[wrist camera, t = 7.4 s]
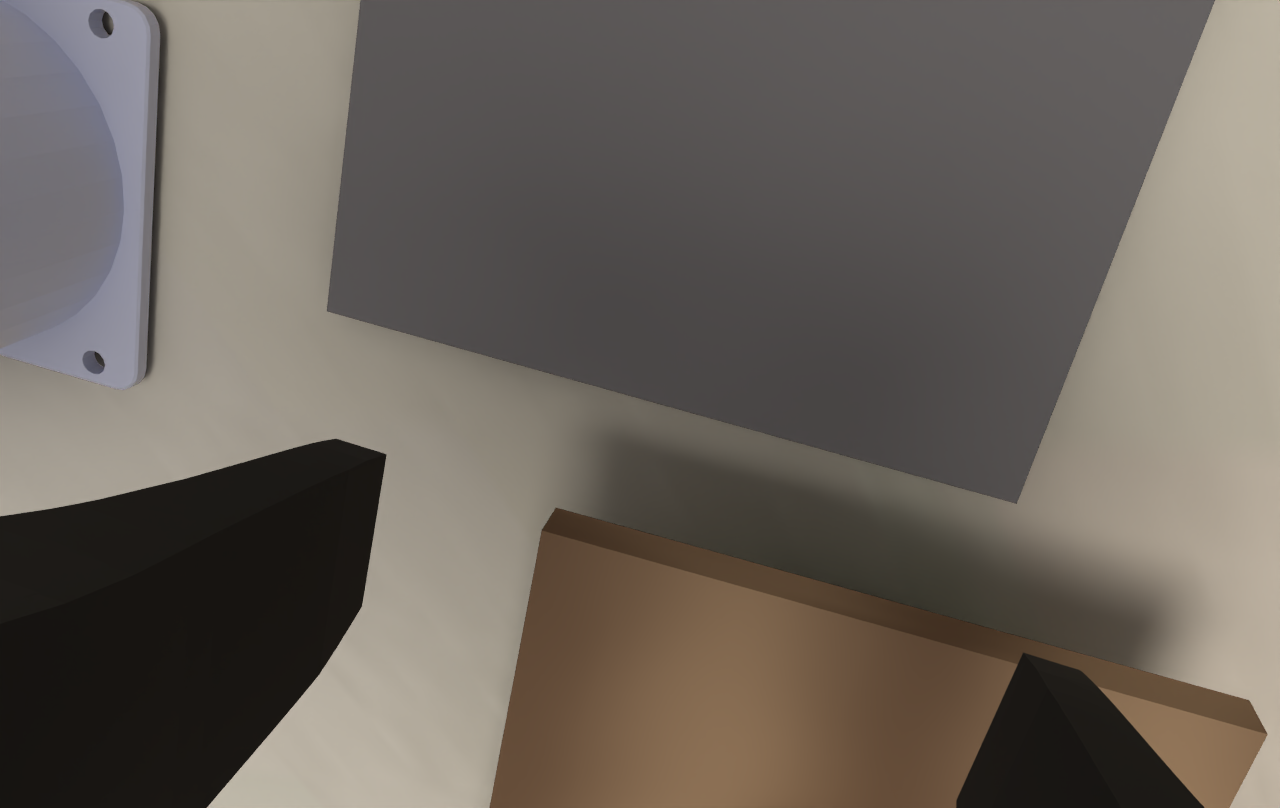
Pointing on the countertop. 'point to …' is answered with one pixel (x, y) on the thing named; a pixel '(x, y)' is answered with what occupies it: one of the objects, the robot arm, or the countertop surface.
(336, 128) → the countertop surface
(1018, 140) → the mat
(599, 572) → the lid
